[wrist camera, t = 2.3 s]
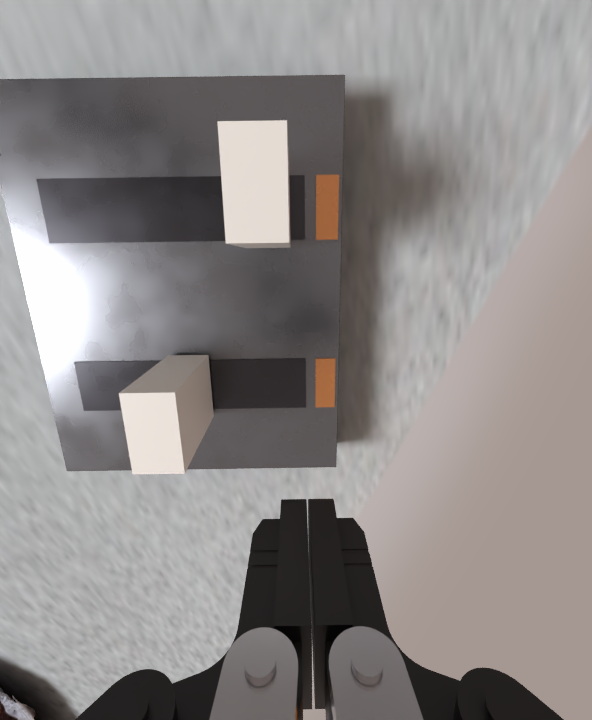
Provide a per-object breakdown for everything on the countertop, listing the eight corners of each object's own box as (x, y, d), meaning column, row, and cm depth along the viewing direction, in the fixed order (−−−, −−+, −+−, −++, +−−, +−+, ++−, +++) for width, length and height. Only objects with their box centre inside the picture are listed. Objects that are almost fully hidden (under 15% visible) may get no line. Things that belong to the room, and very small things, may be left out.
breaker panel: (92, 447, 26) (66, 472, 23) (22, 106, 20) (-26, 78, 17) (331, 443, 26) (336, 467, 23) (337, 102, 20) (345, 73, 17)
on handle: (246, 248, 19) (225, 243, 13) (242, 166, 18) (217, 121, 12) (290, 247, 19) (289, 242, 13) (289, 165, 18) (286, 120, 12)
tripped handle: (175, 416, 22) (132, 474, 16) (168, 355, 20) (118, 393, 15) (213, 416, 22) (184, 473, 16) (208, 354, 20) (175, 392, 15)
